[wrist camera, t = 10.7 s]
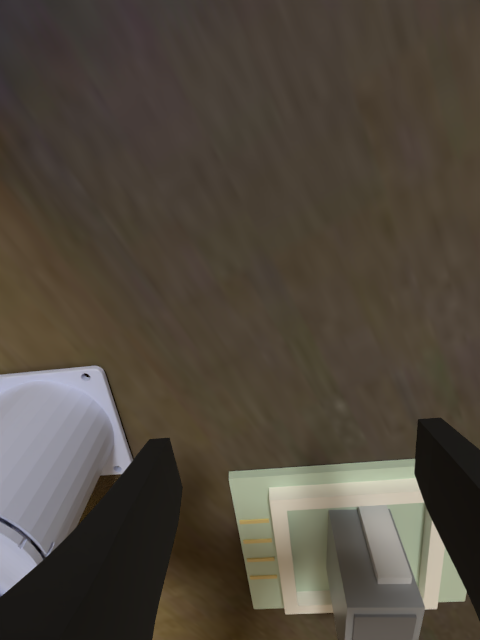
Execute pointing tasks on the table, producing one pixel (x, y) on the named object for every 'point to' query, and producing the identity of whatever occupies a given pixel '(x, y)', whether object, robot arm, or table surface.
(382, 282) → the table surface
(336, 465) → the board
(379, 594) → the plug
